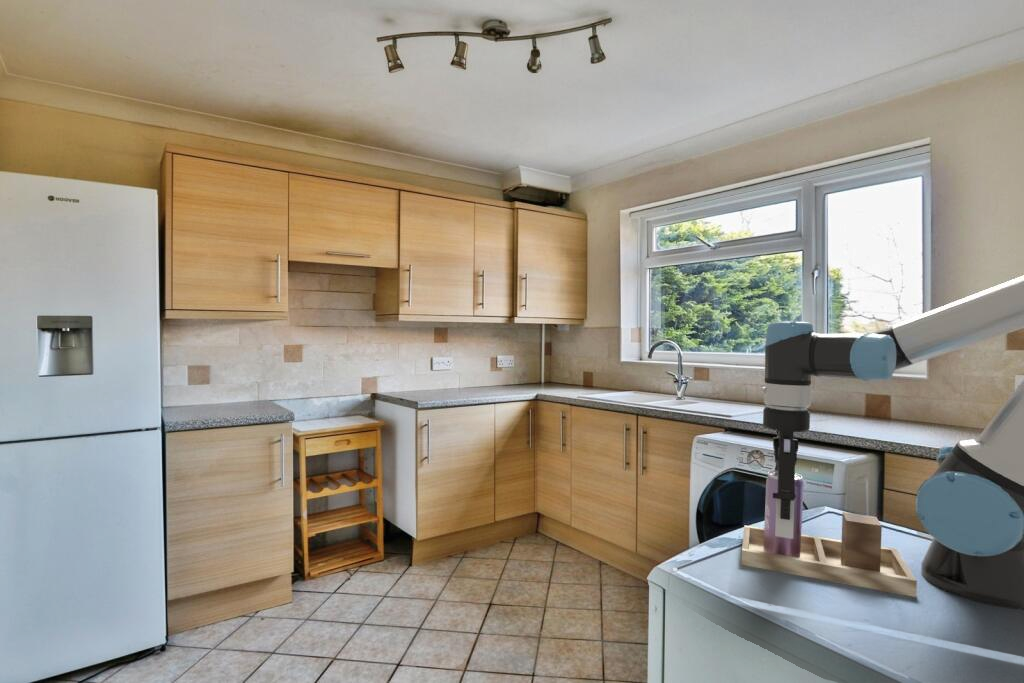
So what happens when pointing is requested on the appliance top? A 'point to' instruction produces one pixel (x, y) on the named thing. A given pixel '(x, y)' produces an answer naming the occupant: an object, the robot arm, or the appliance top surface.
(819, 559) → the rack
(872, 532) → the walnut block
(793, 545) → the beverage can
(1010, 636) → the appliance top surface
